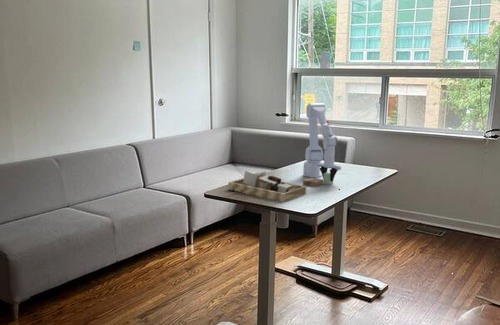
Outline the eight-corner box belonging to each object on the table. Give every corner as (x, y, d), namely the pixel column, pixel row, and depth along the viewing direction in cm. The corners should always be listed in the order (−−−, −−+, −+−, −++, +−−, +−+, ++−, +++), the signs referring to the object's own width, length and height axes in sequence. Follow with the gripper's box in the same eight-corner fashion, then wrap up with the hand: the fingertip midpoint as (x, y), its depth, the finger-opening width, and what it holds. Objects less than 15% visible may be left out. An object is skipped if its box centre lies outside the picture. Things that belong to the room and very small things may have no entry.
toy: (299, 199, 251) (252, 182, 266) (302, 182, 248) (254, 166, 263) (288, 205, 241) (239, 187, 255) (291, 187, 238) (242, 170, 253)
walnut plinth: (303, 185, 269) (303, 180, 268) (310, 182, 275) (311, 177, 274) (315, 187, 264) (315, 182, 263) (322, 185, 270) (323, 179, 269)
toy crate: (228, 189, 256) (228, 182, 256) (252, 182, 272) (252, 176, 271) (283, 202, 234) (284, 194, 233) (306, 193, 249) (306, 186, 248)
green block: (323, 183, 272) (323, 173, 271) (326, 182, 275) (327, 172, 274) (329, 184, 270) (329, 174, 268) (333, 183, 273) (333, 173, 271)
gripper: (314, 156, 271) (313, 179, 273) (337, 159, 262) (336, 183, 264) (320, 154, 276) (320, 177, 279) (343, 158, 267) (342, 181, 270)
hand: (328, 180), depth 272 cm, fingers closed on green block, 4 cm apart
